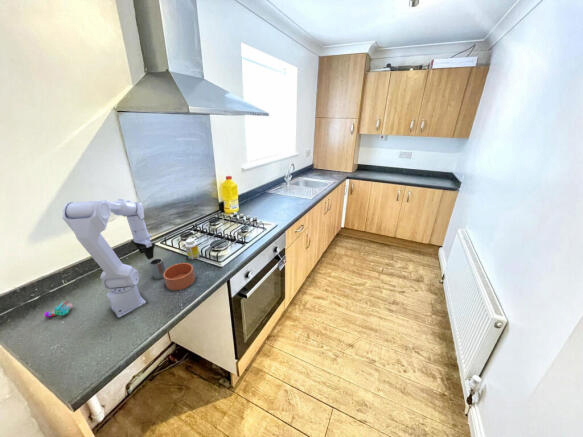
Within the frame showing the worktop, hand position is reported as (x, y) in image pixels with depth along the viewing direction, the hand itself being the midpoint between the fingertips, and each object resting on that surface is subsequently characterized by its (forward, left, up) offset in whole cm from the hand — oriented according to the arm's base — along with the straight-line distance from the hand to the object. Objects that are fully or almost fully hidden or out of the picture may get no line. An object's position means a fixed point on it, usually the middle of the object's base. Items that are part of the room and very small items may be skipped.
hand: (147, 255), depth 105 cm
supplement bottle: (+19, -4, -10) cm, 22 cm away
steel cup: (+1, -6, -9) cm, 11 cm away
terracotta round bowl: (+5, -17, -9) cm, 20 cm away
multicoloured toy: (+5, -35, -8) cm, 36 cm away
